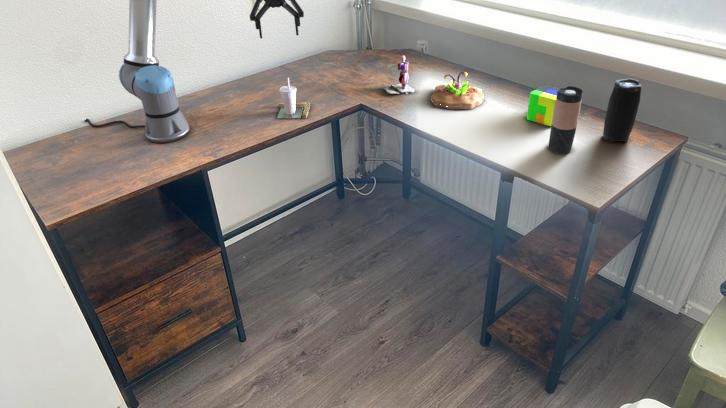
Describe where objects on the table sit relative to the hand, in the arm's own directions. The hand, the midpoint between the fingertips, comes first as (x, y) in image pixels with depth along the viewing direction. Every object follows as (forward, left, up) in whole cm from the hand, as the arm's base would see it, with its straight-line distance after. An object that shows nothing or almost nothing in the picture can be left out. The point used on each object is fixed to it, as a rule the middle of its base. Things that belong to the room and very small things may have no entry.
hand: (279, 35), depth 206 cm
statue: (+45, +6, -26) cm, 52 cm away
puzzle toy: (+98, -21, -26) cm, 103 cm away
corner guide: (+4, -13, -26) cm, 29 cm away
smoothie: (+4, -14, -26) cm, 29 cm away
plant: (+68, -3, -26) cm, 72 cm away
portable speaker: (+117, -37, -26) cm, 125 cm away
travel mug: (+97, -44, -26) cm, 109 cm away
